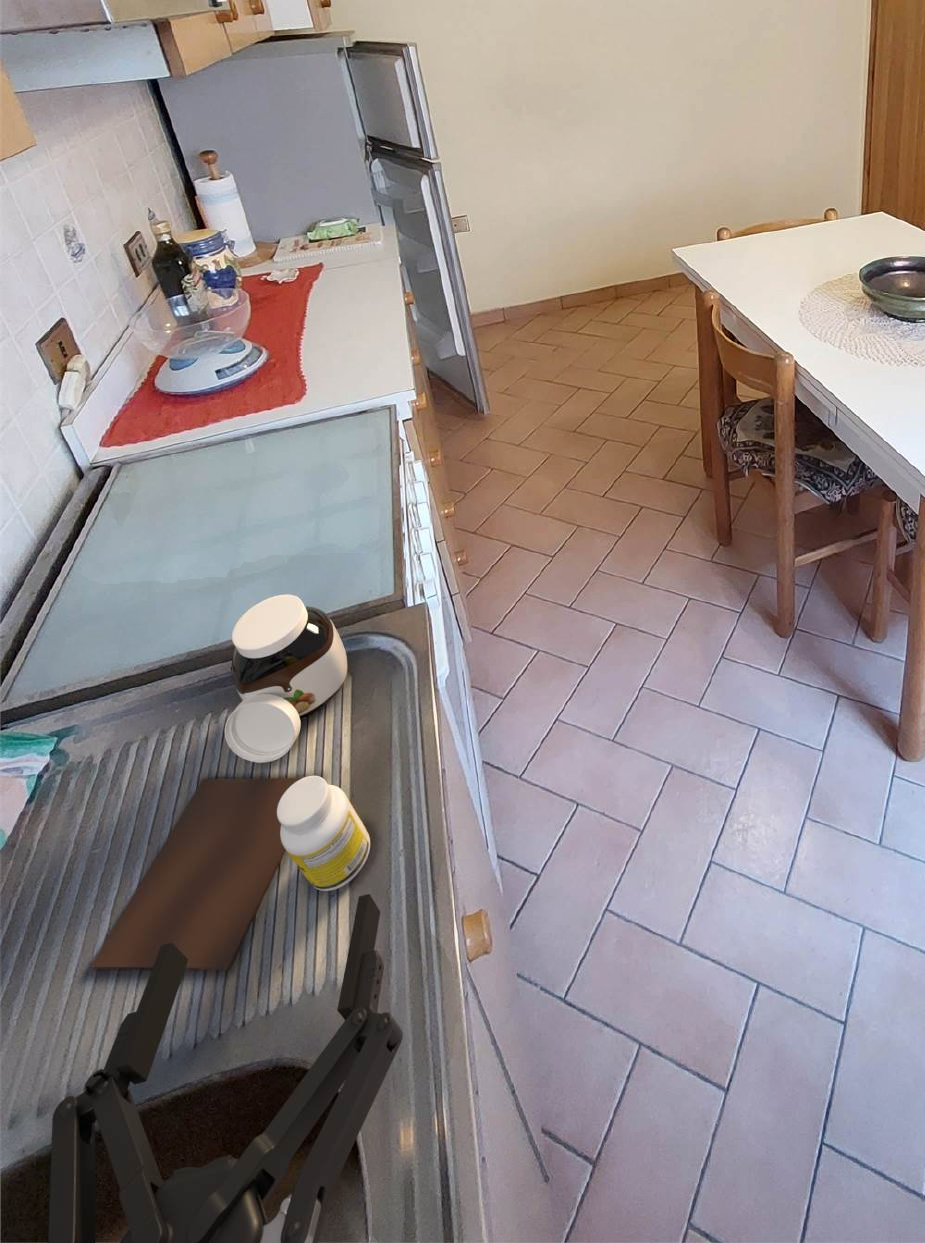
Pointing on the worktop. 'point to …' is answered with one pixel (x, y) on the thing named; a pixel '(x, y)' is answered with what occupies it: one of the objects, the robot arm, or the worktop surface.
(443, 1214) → the worktop surface
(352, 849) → the supplement bottle
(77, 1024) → the worktop surface
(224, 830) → the runner mat
